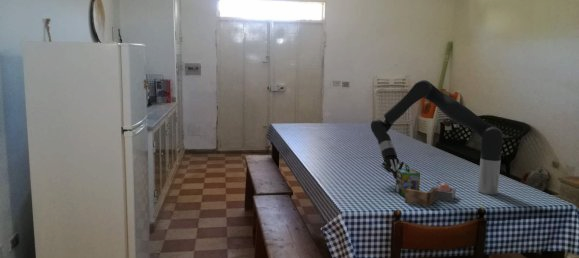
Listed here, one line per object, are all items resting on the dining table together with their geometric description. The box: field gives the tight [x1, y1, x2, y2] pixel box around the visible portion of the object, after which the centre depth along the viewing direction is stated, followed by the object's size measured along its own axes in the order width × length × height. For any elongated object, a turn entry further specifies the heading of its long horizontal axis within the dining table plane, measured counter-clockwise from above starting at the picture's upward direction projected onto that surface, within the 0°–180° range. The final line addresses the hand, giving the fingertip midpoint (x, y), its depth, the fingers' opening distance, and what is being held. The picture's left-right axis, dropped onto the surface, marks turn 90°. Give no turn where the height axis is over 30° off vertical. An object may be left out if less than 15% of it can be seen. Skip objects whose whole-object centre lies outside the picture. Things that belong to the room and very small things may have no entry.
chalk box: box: [395, 163, 421, 197], centre depth 212 cm, size 9×9×15 cm
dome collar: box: [434, 185, 457, 202], centre depth 207 cm, size 9×9×4 cm
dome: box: [437, 182, 451, 192], centre depth 207 cm, size 6×6×6 cm
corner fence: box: [404, 187, 436, 207], centre depth 201 cm, size 11×11×6 cm
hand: (397, 178), depth 222 cm, fingers closed
